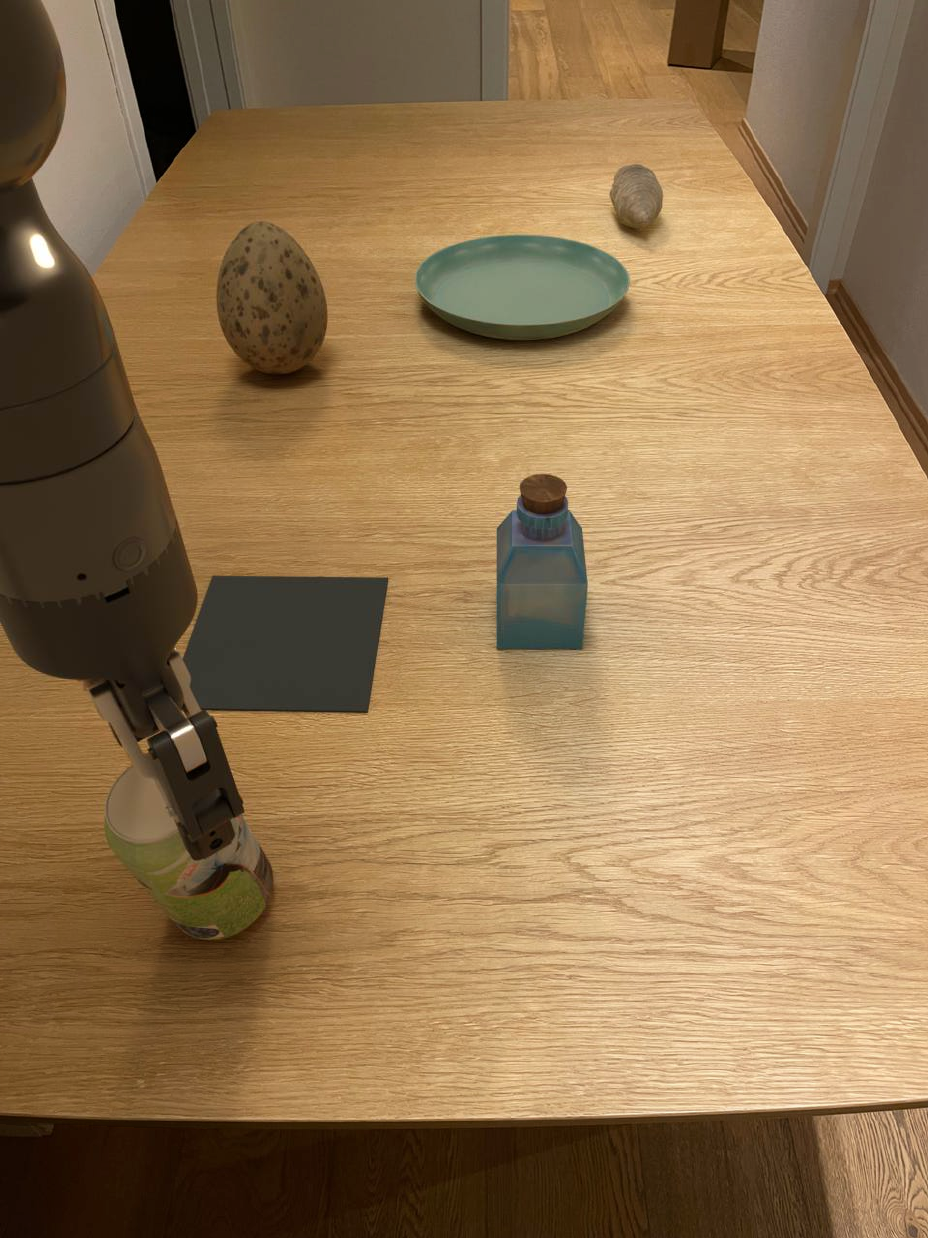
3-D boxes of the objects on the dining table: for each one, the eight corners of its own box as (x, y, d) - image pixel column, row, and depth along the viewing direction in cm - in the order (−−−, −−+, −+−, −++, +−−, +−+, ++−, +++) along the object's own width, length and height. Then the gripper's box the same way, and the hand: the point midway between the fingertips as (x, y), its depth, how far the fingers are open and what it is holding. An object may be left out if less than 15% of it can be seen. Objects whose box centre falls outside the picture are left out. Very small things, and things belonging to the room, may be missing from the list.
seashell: (616, 222, 121) (631, 152, 118) (598, 225, 134) (611, 162, 131) (666, 231, 122) (682, 162, 119) (643, 233, 134) (657, 171, 132)
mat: (367, 712, 66) (367, 711, 66) (165, 709, 67) (165, 707, 67) (388, 578, 76) (388, 577, 76) (212, 577, 77) (212, 575, 77)
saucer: (608, 364, 101) (610, 334, 98) (387, 339, 106) (384, 310, 104) (641, 269, 117) (644, 241, 115) (450, 251, 123) (449, 224, 120)
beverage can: (296, 876, 57) (263, 744, 49) (224, 985, 52) (172, 860, 44) (208, 839, 59) (162, 707, 51) (130, 941, 54) (65, 813, 46)
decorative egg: (303, 334, 107) (283, 194, 97) (353, 373, 101) (336, 227, 90) (213, 363, 103) (182, 220, 92) (259, 406, 96) (230, 256, 86)
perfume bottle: (577, 592, 75) (587, 460, 67) (582, 649, 70) (593, 515, 62) (496, 592, 75) (496, 461, 67) (496, 648, 70) (496, 515, 62)
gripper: (-79, 482, 40) (50, 738, 51) (41, 682, 31) (164, 936, 42) (97, 418, 43) (182, 673, 54) (249, 584, 34) (313, 845, 45)
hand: (174, 788), depth 48 cm, fingers open, 8 cm apart
